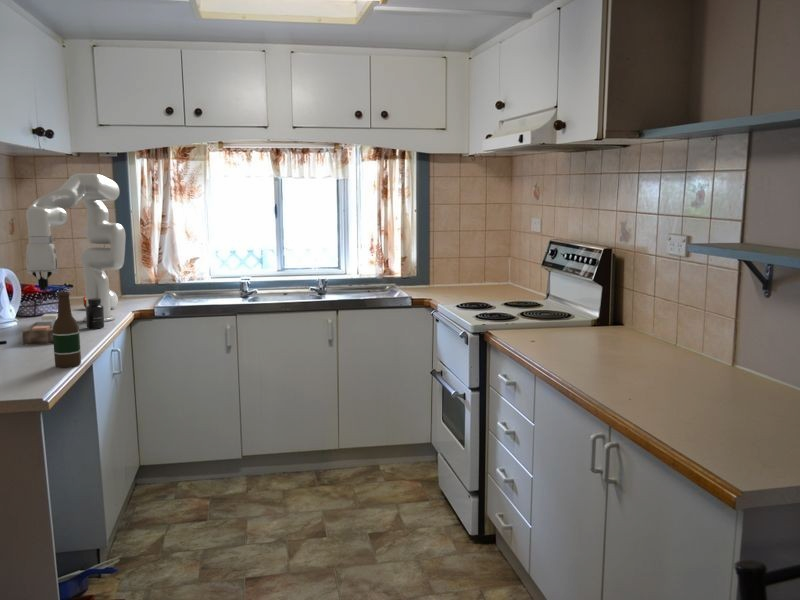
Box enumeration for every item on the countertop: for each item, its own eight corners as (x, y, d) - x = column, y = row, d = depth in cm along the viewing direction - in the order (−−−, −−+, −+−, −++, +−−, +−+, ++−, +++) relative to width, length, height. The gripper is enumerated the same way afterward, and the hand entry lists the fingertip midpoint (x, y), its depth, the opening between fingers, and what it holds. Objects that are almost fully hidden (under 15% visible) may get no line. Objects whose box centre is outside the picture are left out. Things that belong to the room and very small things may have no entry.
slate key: (41, 330, 273) (40, 319, 272) (55, 329, 274) (54, 319, 273) (37, 332, 268) (36, 322, 267) (51, 332, 269) (51, 321, 268)
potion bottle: (119, 312, 339) (87, 316, 337) (121, 298, 345) (90, 302, 344) (113, 298, 332) (80, 302, 330) (116, 284, 339) (83, 288, 337)
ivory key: (45, 324, 279) (45, 314, 278) (59, 323, 280) (58, 313, 280) (42, 326, 274) (41, 316, 274) (56, 325, 275) (55, 315, 275)
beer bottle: (49, 367, 226) (44, 293, 223) (65, 362, 234) (60, 290, 230) (71, 368, 225) (66, 294, 221) (86, 363, 232) (81, 290, 229)
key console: (23, 344, 260) (22, 331, 259) (38, 333, 280) (37, 321, 279) (55, 343, 262) (54, 330, 261) (68, 332, 282) (68, 320, 282)
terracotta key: (36, 336, 266) (35, 325, 265) (50, 335, 267) (50, 325, 266) (32, 339, 261) (31, 328, 260) (47, 338, 262) (46, 327, 262)
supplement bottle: (98, 329, 288) (96, 300, 287) (83, 329, 290) (81, 299, 288) (108, 326, 295) (106, 298, 293) (93, 325, 296) (91, 297, 295)
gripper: (63, 239, 271) (67, 287, 274) (21, 240, 268) (25, 288, 270) (59, 241, 264) (62, 290, 266) (15, 241, 260) (19, 291, 263)
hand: (43, 289), depth 268 cm, fingers closed
